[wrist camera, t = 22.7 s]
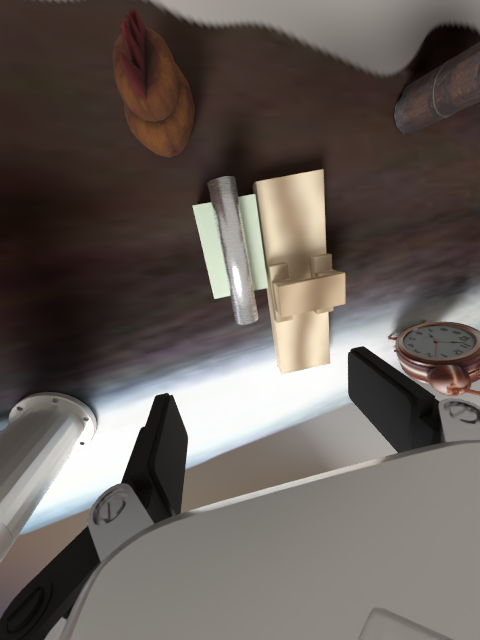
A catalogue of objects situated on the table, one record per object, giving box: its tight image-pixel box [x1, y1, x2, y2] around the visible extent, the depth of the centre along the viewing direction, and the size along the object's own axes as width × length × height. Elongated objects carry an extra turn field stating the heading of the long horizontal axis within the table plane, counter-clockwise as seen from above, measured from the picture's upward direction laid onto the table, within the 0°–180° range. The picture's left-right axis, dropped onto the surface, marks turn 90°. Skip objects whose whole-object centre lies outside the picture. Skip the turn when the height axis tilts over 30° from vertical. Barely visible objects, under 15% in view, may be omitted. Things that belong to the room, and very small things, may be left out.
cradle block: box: [193, 194, 268, 299], centre depth 29 cm, size 7×11×4 cm, turn 10°
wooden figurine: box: [112, 8, 195, 158], centre depth 19 cm, size 7×6×15 cm
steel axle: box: [207, 176, 258, 324], centre depth 26 cm, size 16×3×3 cm, turn 10°
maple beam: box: [252, 169, 345, 374], centre depth 31 cm, size 8×28×7 cm, turn 10°
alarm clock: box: [388, 320, 480, 396], centre depth 33 cm, size 11×5×15 cm, turn 117°
